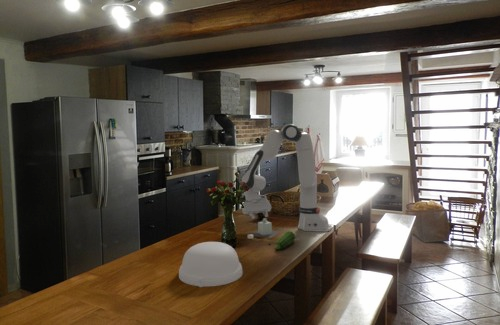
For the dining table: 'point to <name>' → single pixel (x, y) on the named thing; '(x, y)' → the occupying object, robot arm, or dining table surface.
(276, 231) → the mat
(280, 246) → the vegetable
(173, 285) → the dining table surface
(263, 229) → the square capped bottle
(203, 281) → the dome cover
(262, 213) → the coffee mug
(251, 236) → the glossy white pebble
